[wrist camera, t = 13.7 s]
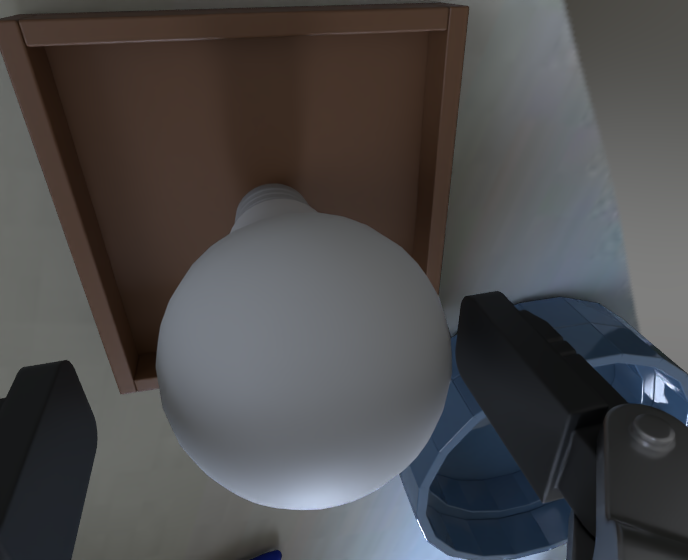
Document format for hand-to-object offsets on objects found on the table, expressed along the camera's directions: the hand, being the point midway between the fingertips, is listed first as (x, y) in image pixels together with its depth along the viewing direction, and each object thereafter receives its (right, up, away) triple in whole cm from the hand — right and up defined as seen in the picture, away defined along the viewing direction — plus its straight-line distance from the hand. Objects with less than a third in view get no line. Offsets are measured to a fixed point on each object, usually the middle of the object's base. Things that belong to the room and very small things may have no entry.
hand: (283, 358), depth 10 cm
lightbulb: (-1, +4, +7) cm, 8 cm away
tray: (-2, +4, +7) cm, 9 cm away
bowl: (+10, -5, +16) cm, 20 cm away
